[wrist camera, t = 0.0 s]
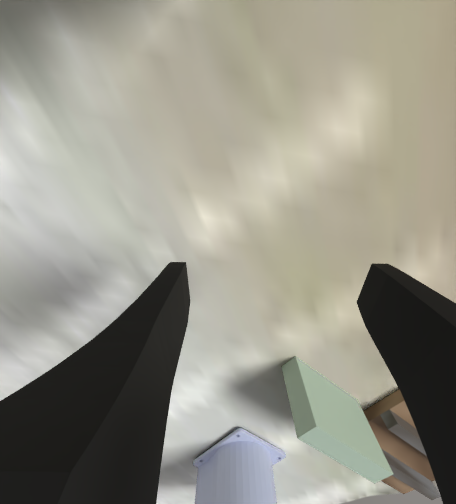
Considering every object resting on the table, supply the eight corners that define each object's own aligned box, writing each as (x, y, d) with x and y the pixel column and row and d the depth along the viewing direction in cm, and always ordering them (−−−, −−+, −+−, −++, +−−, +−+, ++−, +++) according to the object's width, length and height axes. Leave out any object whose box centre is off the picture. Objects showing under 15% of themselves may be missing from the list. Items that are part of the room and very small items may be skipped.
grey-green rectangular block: (342, 407, 29) (374, 483, 23) (281, 366, 27) (297, 438, 20) (357, 399, 28) (393, 474, 22) (295, 355, 26) (316, 426, 19)
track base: (398, 483, 35) (411, 509, 33) (321, 436, 31) (329, 461, 29) (481, 443, 31) (502, 469, 29) (406, 384, 27) (424, 408, 25)
